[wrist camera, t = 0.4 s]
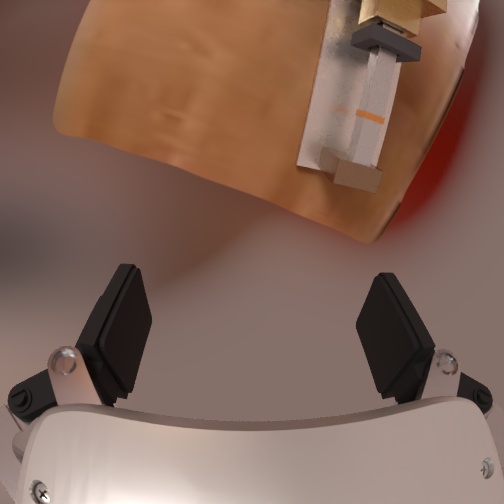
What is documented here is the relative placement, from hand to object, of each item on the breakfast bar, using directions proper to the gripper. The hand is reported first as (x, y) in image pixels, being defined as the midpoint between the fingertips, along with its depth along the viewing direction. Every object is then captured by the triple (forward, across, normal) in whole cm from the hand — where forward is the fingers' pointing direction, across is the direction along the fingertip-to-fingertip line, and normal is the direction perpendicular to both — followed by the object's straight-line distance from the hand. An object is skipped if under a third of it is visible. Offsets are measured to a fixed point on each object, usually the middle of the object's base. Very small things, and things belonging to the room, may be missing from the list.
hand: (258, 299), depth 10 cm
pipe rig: (+30, -14, -13) cm, 36 cm away
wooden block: (+26, -15, -22) cm, 37 cm away
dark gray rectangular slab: (+26, -15, -17) cm, 34 cm away
